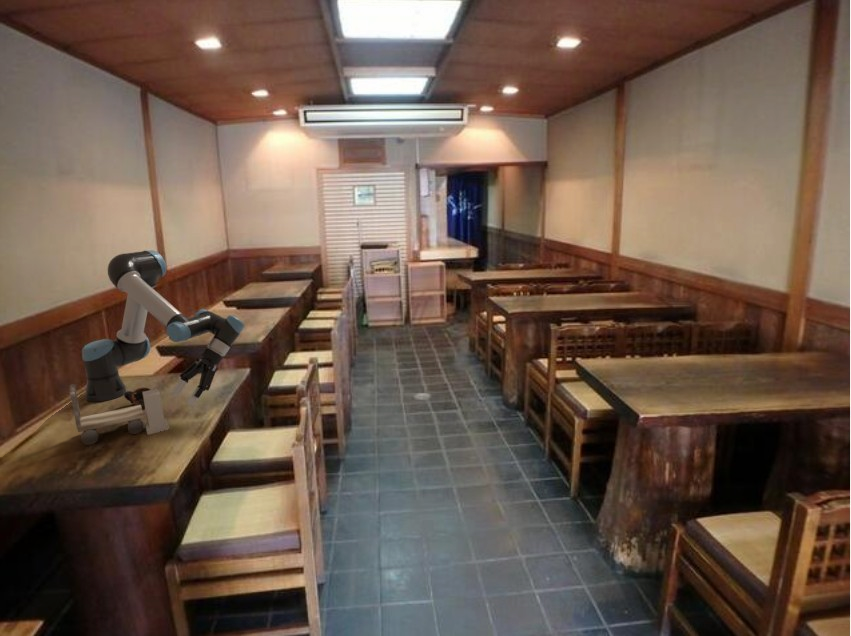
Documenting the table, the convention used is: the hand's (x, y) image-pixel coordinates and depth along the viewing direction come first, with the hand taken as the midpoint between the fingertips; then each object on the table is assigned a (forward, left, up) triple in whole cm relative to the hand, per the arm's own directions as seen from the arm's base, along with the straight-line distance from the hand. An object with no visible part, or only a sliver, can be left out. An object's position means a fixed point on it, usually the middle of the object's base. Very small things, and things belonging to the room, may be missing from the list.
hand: (181, 400), depth 196 cm
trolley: (-3, -23, -8) cm, 25 cm away
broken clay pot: (-26, -12, -8) cm, 30 cm away
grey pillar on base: (+3, -10, -8) cm, 13 cm away
